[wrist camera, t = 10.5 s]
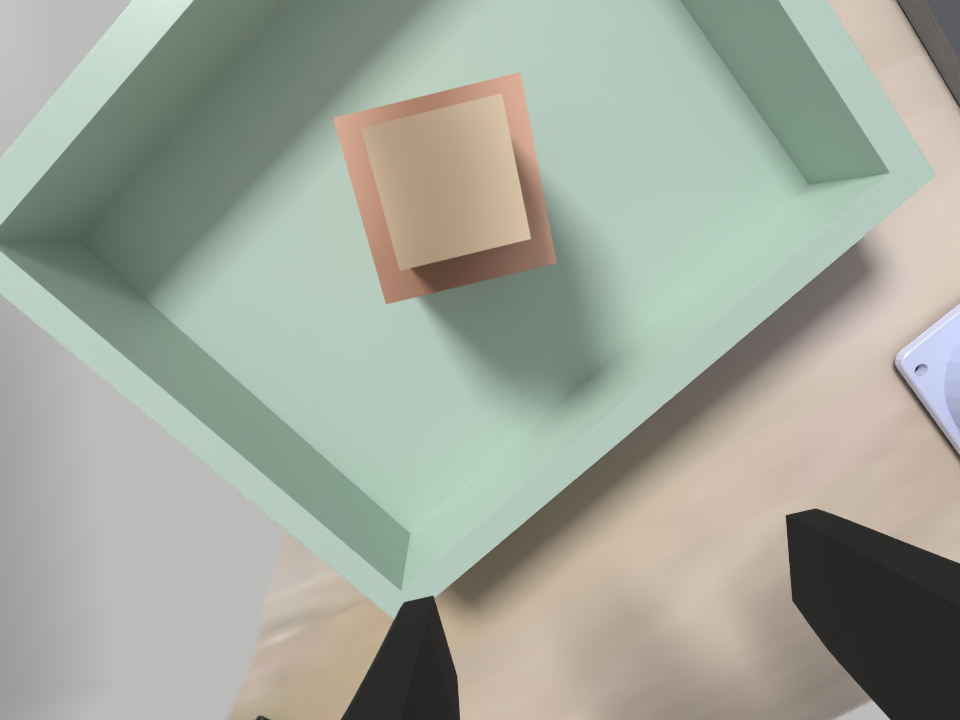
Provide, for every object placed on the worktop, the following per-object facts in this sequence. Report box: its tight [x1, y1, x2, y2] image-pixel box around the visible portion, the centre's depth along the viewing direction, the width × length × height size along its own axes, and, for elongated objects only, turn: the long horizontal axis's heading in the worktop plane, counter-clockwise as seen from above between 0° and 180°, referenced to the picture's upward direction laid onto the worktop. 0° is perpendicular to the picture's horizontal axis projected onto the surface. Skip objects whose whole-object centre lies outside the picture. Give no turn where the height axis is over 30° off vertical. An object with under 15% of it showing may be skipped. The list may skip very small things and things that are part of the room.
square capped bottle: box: [333, 72, 557, 304], centre depth 14 cm, size 4×4×8 cm
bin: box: [0, 0, 936, 619], centre depth 16 cm, size 18×22×4 cm
